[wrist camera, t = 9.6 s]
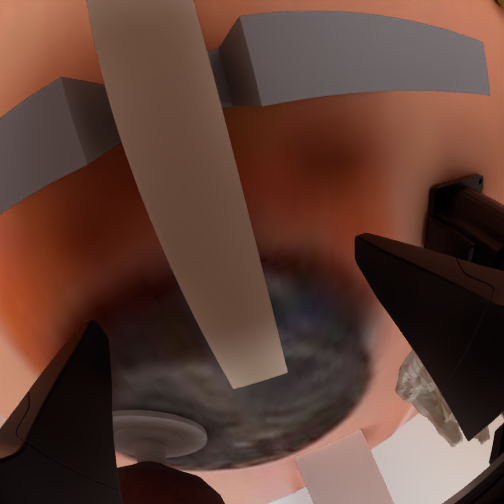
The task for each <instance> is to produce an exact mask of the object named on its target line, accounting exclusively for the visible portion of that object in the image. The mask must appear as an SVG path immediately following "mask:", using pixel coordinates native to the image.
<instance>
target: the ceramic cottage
mask: <svg viewBox="0 0 504 504" xmlns="http://www.w3.org/2000/svg"><path fill="white" fill-rule="evenodd" d="M396 393H397V394H398V395H399V396H400V397H401V398H402V399H403V400H404V401H405V402H406V401H407V402H410V403H412V405H413V406H414V407H415V408H416V410H417V411H418V412H419V413H420V414H421V415H423V416H425V417H427V418H428V419H429V420H430V421H431V423H432V424H433V425H434V426H435V427H436V429H437V431H438V433H439V434H440V435H441V436H443V437H444V438H445V439H446V440H447V441H448V443H449V444H450V445H451V446H452V447H455V446H456V445H457V444H459V443H461V442H462V441H463V437H462V434H461V432H460V430H459V424H458V422H457V421H456V419H455V417H454V415H453V414H452V412H451V410H450V408H449V407H448V405H447V403H446V401H445V400H444V398H443V396H442V395H441V393H440V391H439V389H438V388H437V386H436V385H435V383H434V381H433V380H432V378H431V376H430V375H429V373H428V372H427V370H426V369H425V367H424V365H423V364H422V362H421V361H420V359H419V358H418V356H417V355H416V353H415V352H414V350H412V351H411V352H410V353H409V355H408V356H407V358H406V359H405V360H404V362H403V364H402V365H401V369H400V370H399V377H398V381H397V387H396ZM474 438H475V439H477V438H478V440H479V442H480V443H481V445H482V444H484V443H485V442H486V441H487V440H489V439H490V435H489V430H488V426H487V427H486V428H484V429H483V430H482V431H481V432H480V433H479V434H477V435H476V436H475V437H474Z"/></svg>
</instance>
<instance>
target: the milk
mask: <svg viewBox="0 0 504 504" xmlns="http://www.w3.org/2000/svg"><path fill="white" fill-rule="evenodd" d="M294 458H295V461H296V463H297V466H298V468H299V470H300V473H301V475H302V477H303V480H304V482H305V484H306V487H307V489H308V491H309V494H310V496H311V498H312V501H313V503H314V504H394V503H393V501H392V498H391V496H390V494H389V492H388V490H387V487H386V484H385V482H384V480H383V478H382V475H381V473H380V471H379V469H378V466H377V464H376V462H375V460H374V457H373V455H372V453H371V451H370V449H369V446H368V444H367V442H366V440H365V438H364V435H363V433H362V431H361V429H359V430H357V431H355V432H353V433H351V434H349V435H347V436H345V437H342V438H340V439H338V440H336V441H333V442H331V443H329V444H326V445H324V446H322V447H319V448H317V449H314V450H312V451H309V452H306V453H304V454H301V455H298V456H295V457H294Z"/></svg>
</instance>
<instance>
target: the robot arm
mask: <svg viewBox="0 0 504 504" xmlns="http://www.w3.org/2000/svg"><path fill="white" fill-rule="evenodd" d="M482 188H483V176H482V175H479V174H475V175H471V176H468V177H464V178H461V179H457V180H454V181H450V182H447V183H443V184H440V185H436V186H434V187H433V188H432V190H431V194H430V208H429V220H428V229H427V238H426V246H425V249H424V248H421V247H417V246H414V245H410V244H407V243H403V242H399V241H396V240H392V239H389V238H385V237H381V236H377V235H374V234H370V233H363V234H360V235H357V236H356V237H355V260H356V263H357V265H358V266H359V268H360V270H361V271H362V273H363V275H364V276H365V278H366V280H367V282H368V283H369V285H370V287H371V289H372V290H373V292H374V294H375V295H376V297H377V298H378V300H379V301H380V303H381V304H382V305H383V307H384V308H385V310H386V311H387V312H388V314H389V315H390V317H391V318H392V319H393V321H394V322H395V324H396V325H397V327H398V328H399V329H400V331H401V332H402V334H403V335H404V337H405V338H406V340H407V341H408V343H409V344H410V346H411V347H412V349H413V350H414V352H415V353H416V355H417V356H418V358H419V359H420V361H421V362H422V364H423V365H424V367H425V369H426V370H427V372H428V373H429V375H430V376H431V378H432V380H433V381H434V383H435V385H436V386H437V388H438V389H439V391H440V393H441V395H442V396H443V398H444V400H445V401H446V403H447V405H448V407H449V408H450V410H451V412H452V414H453V415H454V417H455V419H456V421H457V422H458V424H459V426H460V428H461V430H462V431H463V433H464V435H465V437H466V439H467V440H468V441H470V440H471V439H472V438H474V437H475V436H476V435H477V434H479V433H480V432H481V431H482V430H483V429H484V428H486V427H487V426H488V425H489V424H490V423H491V422H492V421H494V420H495V419H496V418H497V417H498V416H499V415H500V414H501V415H502V417H503V418H504V205H503V204H501V203H499V202H497V201H496V200H494V199H492V198H490V197H488V196H487V195H485V194H483V193H482ZM489 463H490V466H489V467H488V468H487V469H486V470H484V471H483V472H482V473H481V474H480V475H479V476H478V477H476V478H475V479H474V480H473V481H472V482H471V483H469V484H468V485H467V486H465V487H464V488H463V489H462V490H461V491H459V492H458V493H456V494H455V495H454V496H452V497H451V498H450V499H448V500H447V501H445V502H444V503H443V504H504V423H503V424H502V425H501V426H500V427H499V428H498V429H497V430H496V431H495V435H494V441H493V446H492V451H491V456H490V460H489ZM0 504H123V503H122V497H121V492H120V486H119V480H118V472H117V465H116V456H115V445H114V433H113V415H112V378H111V366H110V352H109V340H108V337H107V335H106V334H105V332H104V331H103V330H102V328H101V327H100V326H99V324H98V323H97V322H96V321H95V320H93V319H91V320H88V321H84V322H83V323H82V324H81V325H80V326H79V328H78V329H77V330H76V331H75V332H74V334H73V335H72V336H71V337H70V338H69V339H68V341H67V342H66V343H65V344H64V346H63V347H62V348H61V349H60V350H59V352H58V353H57V354H56V355H55V357H54V358H53V359H52V360H51V362H50V363H49V364H48V366H47V367H46V368H45V369H44V371H43V372H42V373H41V375H40V376H39V377H38V379H37V380H36V381H35V383H34V384H33V385H32V387H31V388H30V389H29V391H28V392H27V393H26V395H25V396H24V398H23V399H22V400H21V402H20V403H19V405H18V406H17V407H16V409H15V410H14V411H13V413H12V414H11V415H10V416H9V418H8V419H7V420H6V422H5V423H4V424H3V426H2V427H1V428H0Z"/></svg>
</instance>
